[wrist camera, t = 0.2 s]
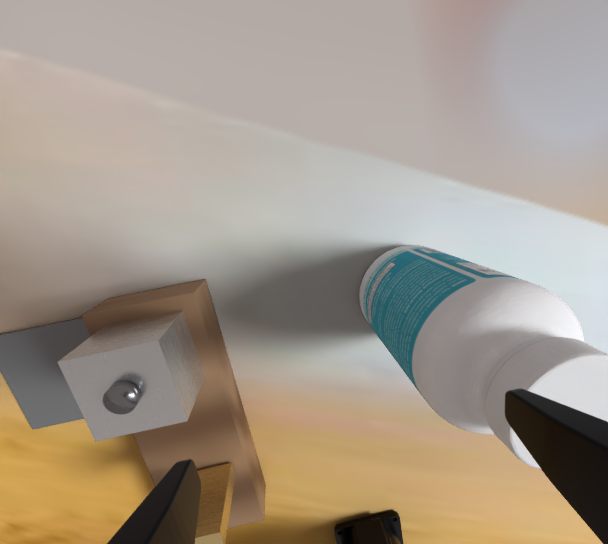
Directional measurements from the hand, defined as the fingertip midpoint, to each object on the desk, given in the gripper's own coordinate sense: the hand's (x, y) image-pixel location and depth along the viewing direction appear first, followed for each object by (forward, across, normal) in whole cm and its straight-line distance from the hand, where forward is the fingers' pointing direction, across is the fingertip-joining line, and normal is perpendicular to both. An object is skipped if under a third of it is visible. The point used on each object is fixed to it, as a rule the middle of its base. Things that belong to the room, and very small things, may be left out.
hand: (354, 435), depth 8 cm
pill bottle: (+14, -7, +2) cm, 16 cm away
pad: (+14, +19, +3) cm, 24 cm away
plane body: (+14, +10, +8) cm, 19 cm away
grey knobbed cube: (+11, +10, +2) cm, 15 cm away
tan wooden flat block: (+11, +10, +12) cm, 19 cm away
